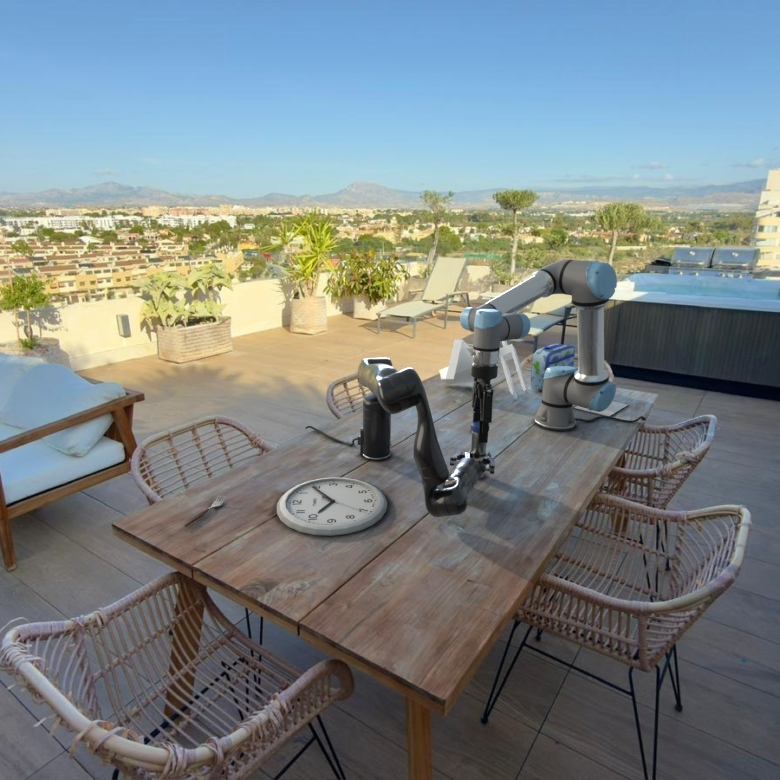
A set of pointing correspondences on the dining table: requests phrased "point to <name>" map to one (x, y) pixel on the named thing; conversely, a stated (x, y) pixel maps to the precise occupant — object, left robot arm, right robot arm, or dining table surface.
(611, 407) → the invitation card
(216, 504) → the fork
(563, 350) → the lunch box
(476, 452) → the jar
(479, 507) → the dining table surface
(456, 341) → the white plastic object
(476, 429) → the lid
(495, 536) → the dining table surface
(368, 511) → the wall clock
